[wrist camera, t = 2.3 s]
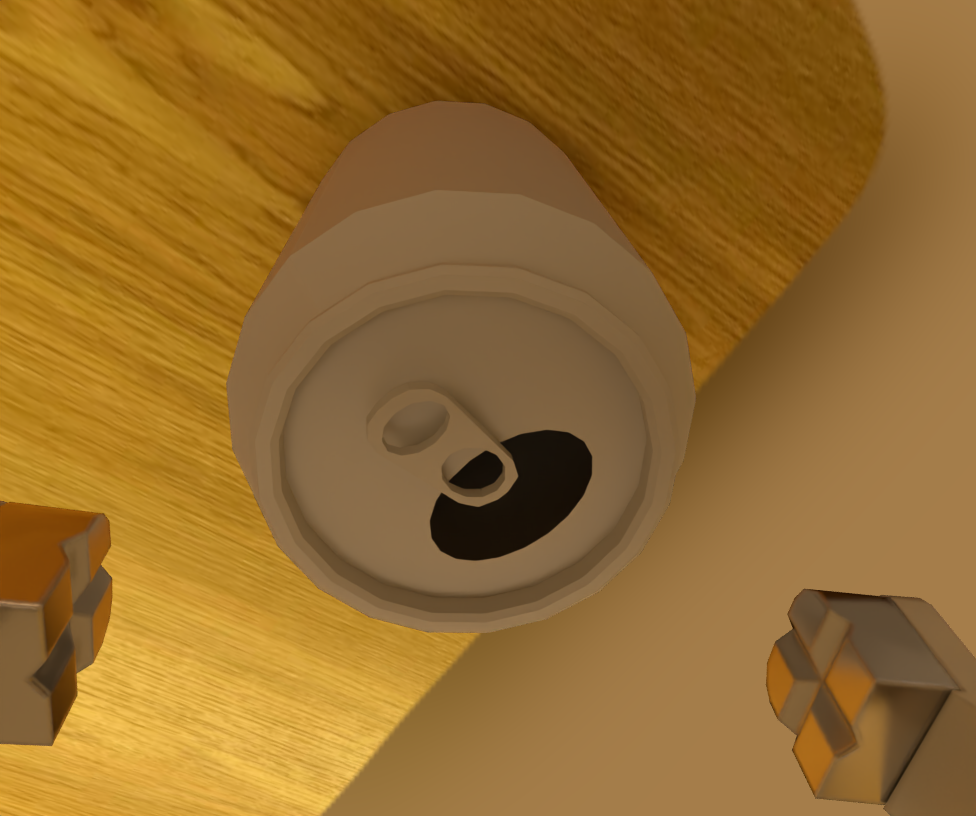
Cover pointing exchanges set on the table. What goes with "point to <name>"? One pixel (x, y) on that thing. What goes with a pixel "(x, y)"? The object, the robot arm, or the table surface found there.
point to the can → (459, 379)
